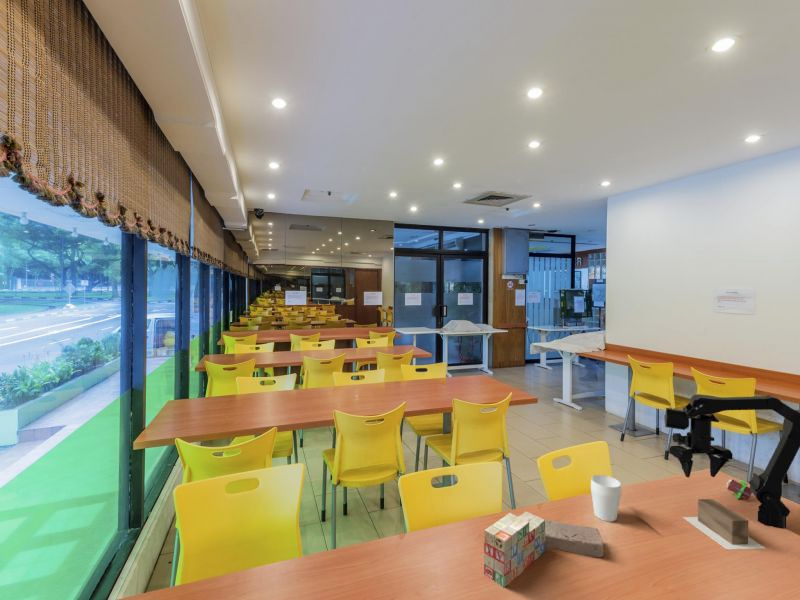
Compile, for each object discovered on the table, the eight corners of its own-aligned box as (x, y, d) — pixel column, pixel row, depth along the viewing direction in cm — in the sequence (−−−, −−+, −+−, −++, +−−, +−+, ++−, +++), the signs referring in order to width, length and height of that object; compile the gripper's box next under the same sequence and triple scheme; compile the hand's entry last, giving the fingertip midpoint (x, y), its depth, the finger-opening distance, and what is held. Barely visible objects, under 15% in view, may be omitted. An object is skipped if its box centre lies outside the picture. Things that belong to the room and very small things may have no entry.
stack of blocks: (525, 541, 115) (526, 500, 115) (545, 551, 110) (546, 509, 110) (483, 575, 101) (484, 529, 101) (504, 589, 96) (504, 540, 96)
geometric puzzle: (754, 491, 143) (738, 471, 145) (762, 499, 137) (745, 479, 139) (734, 499, 145) (719, 479, 147) (742, 508, 139) (725, 487, 141)
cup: (621, 514, 130) (621, 479, 130) (619, 527, 123) (620, 490, 122) (591, 506, 135) (592, 472, 135) (588, 518, 127) (589, 482, 127)
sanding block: (712, 520, 124) (712, 499, 124) (748, 544, 112) (748, 520, 112) (697, 520, 124) (698, 499, 124) (731, 544, 112) (732, 520, 112)
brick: (541, 547, 112) (541, 532, 112) (540, 531, 120) (540, 516, 120) (604, 561, 107) (604, 544, 107) (598, 543, 115) (599, 527, 115)
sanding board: (717, 521, 127) (717, 516, 127) (765, 553, 111) (765, 548, 111) (682, 521, 126) (682, 517, 126) (726, 554, 110) (726, 549, 110)
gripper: (706, 424, 141) (705, 466, 141) (657, 424, 140) (657, 466, 140) (734, 435, 130) (733, 480, 130) (682, 435, 129) (681, 481, 129)
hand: (699, 476), depth 132 cm, fingers open, 9 cm apart
